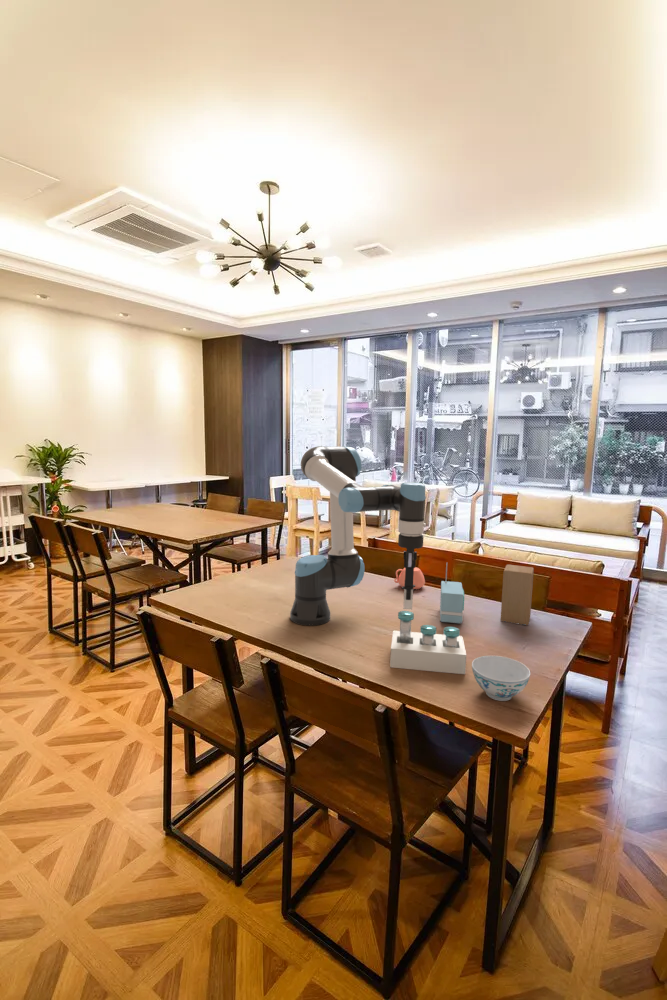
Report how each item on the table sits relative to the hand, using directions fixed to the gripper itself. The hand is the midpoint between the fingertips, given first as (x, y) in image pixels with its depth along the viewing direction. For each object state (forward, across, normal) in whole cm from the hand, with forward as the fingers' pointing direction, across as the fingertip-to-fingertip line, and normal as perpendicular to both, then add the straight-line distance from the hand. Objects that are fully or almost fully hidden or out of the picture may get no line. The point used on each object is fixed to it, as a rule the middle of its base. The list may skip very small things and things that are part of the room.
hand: (407, 608), depth 156 cm
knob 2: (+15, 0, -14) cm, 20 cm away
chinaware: (+16, -18, -25) cm, 35 cm away
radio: (+17, +40, -17) cm, 46 cm away
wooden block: (+17, +42, -41) cm, 61 cm away
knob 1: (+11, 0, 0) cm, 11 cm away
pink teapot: (+17, +75, 0) cm, 77 cm away
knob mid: (+15, 0, -7) cm, 16 cm away
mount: (+16, 0, -7) cm, 18 cm away
